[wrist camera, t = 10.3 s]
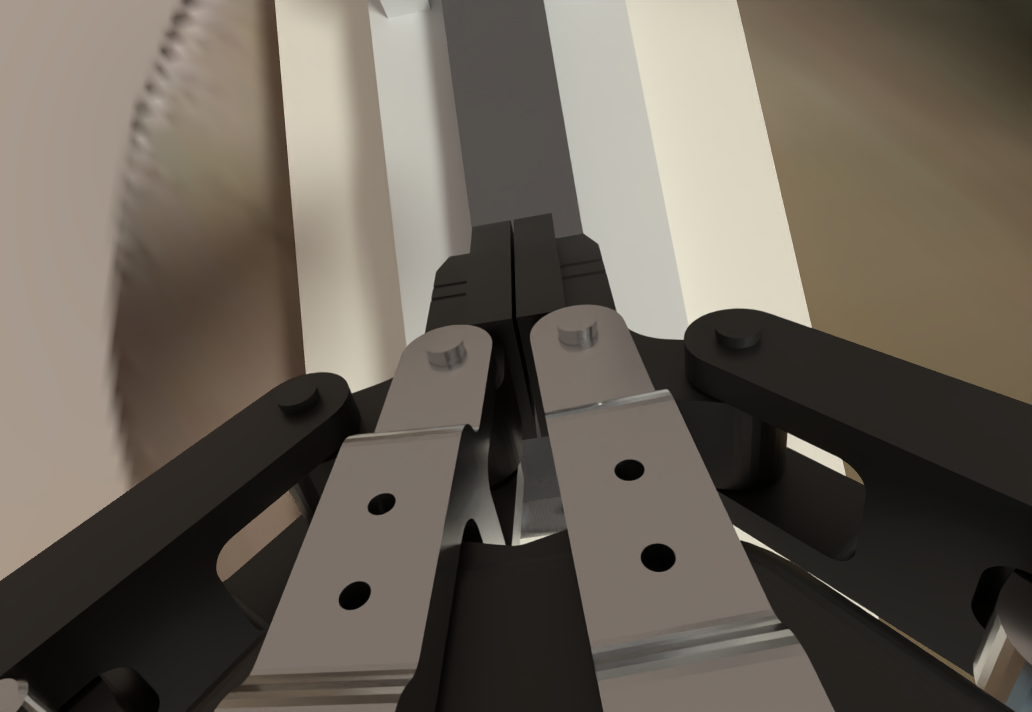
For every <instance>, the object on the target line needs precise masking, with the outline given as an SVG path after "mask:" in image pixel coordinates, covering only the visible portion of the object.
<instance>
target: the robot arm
mask: <svg viewBox="0 0 1032 712" xmlns="http://www.w3.org/2000/svg"><path fill="white" fill-rule="evenodd" d="M433 287H434V289H433V291H432V296H431V301H432V302H430V307H429V313H428V318H427V324H426V330H425V334H423V335H421V336H419V337H417V338H416V339H415V340H413V341H412V342H411V343H410V344H409V345H408V346H407V347H406V348H405V349H404V351H403V352H402V354H401V357H400V360H399V363H398V365H397V368H396V371H395V374H394V377H393V378H391V379H389V380H386V381H384V382H381V383H379V384H376V385H374V386H371V387H368V388H365V389H362V390H360V391H357V392H354V393H351V390H350V388H349V385H348V383H347V381H346V380H345V379H344V378H343V377H341V376H340V375H338V374H334V373H329V372H316V373H309V374H305V375H301V376H298V377H295V378H292V379H290V380H288V381H286V382H284V383H282V384H280V385H278V386H277V387H275V388H273V389H272V390H271V391H269V392H268V393H266V394H265V395H263V396H262V397H261V398H259V399H258V400H256V401H255V402H253V403H252V404H251V405H249V406H248V407H246V408H245V409H244V410H242V411H241V412H239V413H238V414H236V415H235V416H234V417H232V418H231V419H229V420H228V421H227V422H225V423H224V424H222V425H221V426H219V427H218V428H217V429H215V430H214V431H212V432H211V433H210V434H208V435H207V436H205V437H204V438H202V439H201V440H200V441H198V442H197V443H195V444H194V445H193V446H191V447H190V448H188V449H187V450H185V451H184V452H183V453H181V454H180V455H178V456H177V457H176V458H174V459H173V460H171V461H170V462H168V463H167V464H166V465H164V466H163V467H161V468H160V469H159V470H157V471H156V472H154V473H153V474H151V475H150V476H149V477H147V478H146V479H144V480H143V481H141V482H140V483H139V484H137V485H136V486H134V487H133V488H132V489H130V490H129V491H127V492H126V493H124V494H123V495H122V496H120V497H119V498H117V499H116V500H115V501H113V502H112V503H110V504H109V505H107V506H106V507H105V508H103V509H102V510H101V511H99V512H98V513H96V514H95V515H93V516H92V517H91V518H89V519H88V520H86V521H85V522H83V523H82V524H81V525H79V526H78V527H76V528H75V529H73V530H72V531H71V532H69V533H68V534H66V535H65V536H64V537H62V538H61V539H59V540H58V541H57V542H55V543H54V544H52V545H51V546H49V547H48V548H47V549H45V550H44V551H42V552H41V553H39V554H38V555H37V556H35V557H34V558H32V559H31V560H29V561H28V562H27V563H25V564H24V565H22V566H21V567H20V568H18V569H17V570H15V571H14V572H13V573H11V574H10V575H8V576H7V577H5V578H4V579H3V580H1V581H0V712H1032V405H1030V404H1027V403H1024V402H1022V401H1019V400H1016V399H1013V398H1010V397H1007V396H1004V395H1002V394H999V393H996V392H993V391H990V390H987V389H984V388H982V387H979V386H976V385H973V384H970V383H967V382H964V381H962V380H959V379H956V378H953V377H950V376H947V375H944V374H942V373H939V372H936V371H933V370H930V369H927V368H924V367H922V366H919V365H916V364H913V363H910V362H907V361H904V360H902V359H899V358H896V357H893V356H890V355H887V354H884V353H882V352H879V351H876V350H873V349H870V348H867V347H864V346H862V345H859V344H856V343H853V342H850V341H847V340H844V339H842V338H839V337H836V336H833V335H830V334H827V333H824V332H822V331H819V330H816V329H813V328H810V327H807V326H804V325H802V324H799V323H796V322H793V321H790V320H787V319H784V318H782V317H779V316H776V315H773V314H770V313H767V312H763V311H759V310H754V309H744V308H734V309H724V310H719V311H715V312H711V313H708V314H706V315H703V316H701V317H699V318H698V319H696V320H695V321H693V322H692V323H691V324H690V325H689V326H688V328H687V329H686V331H685V333H684V340H677V339H660V338H653V337H648V336H644V335H641V334H638V333H636V332H633V331H632V330H630V329H628V327H627V325H626V323H625V320H624V319H623V317H622V316H621V315H620V314H619V313H617V311H616V307H615V303H614V299H613V296H612V292H611V288H610V285H609V281H608V277H607V274H606V270H605V266H604V263H603V260H602V255H601V251H600V248H599V244H598V243H596V242H595V241H594V240H592V239H591V238H589V237H588V236H586V235H585V234H579V235H573V236H567V237H561V238H556V237H555V230H554V224H553V218H552V213H548V214H542V215H537V216H531V217H525V218H519V219H514V230H513V226H512V222H511V220H509V221H503V222H497V223H491V224H485V225H480V226H474V227H472V235H471V245H470V253H468V254H462V255H456V256H450V257H448V259H447V260H446V261H445V262H444V263H443V264H442V265H441V266H440V268H439V269H438V270H437V271H436V274H435V280H434V285H433ZM536 414H537V418H538V423H539V428H540V433H541V437H547V436H549V438H550V443H551V448H552V453H553V458H554V463H555V468H556V473H557V478H558V483H559V488H560V493H561V499H562V504H563V509H564V514H565V519H566V524H567V529H566V530H563V531H560V532H557V533H555V534H552V535H549V536H546V537H543V538H540V539H537V540H535V541H532V542H529V543H526V544H522V545H520V535H521V520H522V505H523V490H524V472H523V468H522V464H521V459H522V440H527V439H534V438H537V424H536ZM788 433H789V434H791V435H793V436H795V437H797V438H799V439H801V440H803V441H805V442H807V443H809V444H811V445H814V446H816V447H818V448H820V449H822V450H824V451H826V452H828V453H830V454H832V455H834V456H836V457H838V458H840V459H842V460H844V461H845V462H846V463H848V464H849V465H850V466H851V467H852V468H853V469H854V470H855V471H856V472H857V473H858V474H859V476H860V477H861V479H862V481H863V483H864V485H863V484H861V483H859V482H857V481H855V480H853V479H851V478H849V477H847V476H845V475H843V474H841V473H839V472H837V471H835V470H833V469H831V468H829V467H827V466H825V465H823V464H821V463H819V462H817V461H815V460H813V459H811V458H809V457H807V456H805V455H803V454H801V453H799V452H797V451H795V450H793V449H791V448H789V447H787V434H788ZM288 490H289V491H290V493H291V495H292V497H293V499H294V501H295V502H296V504H297V506H298V508H299V510H300V512H301V514H302V515H301V516H300V517H299V518H297V519H296V520H295V521H294V522H293V523H292V524H290V525H289V526H288V527H287V528H286V529H285V530H284V531H282V532H281V533H280V534H279V535H278V536H277V537H276V538H274V539H273V540H272V541H271V542H270V543H269V544H268V545H266V546H265V547H264V548H263V549H262V550H261V551H260V552H258V553H257V554H256V555H255V556H254V557H253V558H251V559H250V560H249V561H248V562H247V563H246V564H245V565H243V566H242V567H241V568H240V569H239V570H238V571H237V572H235V573H234V574H233V575H232V576H231V577H230V578H228V579H227V580H225V581H224V582H222V581H221V580H220V578H219V577H218V575H217V571H216V563H217V559H218V555H219V553H220V551H221V550H222V548H223V546H224V545H225V544H226V543H227V541H228V540H230V539H231V538H232V537H233V536H234V535H235V534H236V533H238V532H239V531H240V530H241V529H242V528H244V527H245V526H246V525H247V524H248V523H250V522H251V521H252V520H253V519H254V518H256V517H257V516H258V515H259V514H260V513H262V512H263V511H264V510H265V509H267V508H268V507H269V506H270V505H271V504H273V503H274V502H275V501H276V500H277V499H279V498H280V497H281V496H282V495H283V494H285V493H286V492H287V491H288ZM733 525H734V526H736V527H737V528H739V529H740V530H742V531H744V532H745V533H747V534H748V535H750V536H751V537H753V538H755V539H756V540H758V541H759V542H761V543H763V544H764V545H766V546H767V547H769V548H770V549H772V550H774V551H775V552H777V553H778V554H780V555H782V556H783V557H785V558H786V559H785V558H783V557H781V556H779V555H777V554H775V553H773V552H772V551H769V550H767V549H764V548H762V547H759V546H757V545H754V544H752V543H749V542H745V541H742V540H739V537H738V535H737V533H736V531H735V529H734V527H733ZM787 559H788V560H787ZM789 560H790V561H789ZM808 572H809V573H808ZM811 574H812V575H811ZM814 576H815V577H814ZM816 577H817V578H818V579H817V578H816ZM819 579H820V580H821V581H820V580H819ZM822 581H823V582H824V583H823V582H822ZM825 583H826V584H828V585H829V586H831V587H832V588H834V589H836V590H837V591H839V592H840V593H842V594H843V595H845V596H847V597H848V598H850V599H851V600H853V601H855V602H856V603H858V604H859V605H861V606H863V607H864V608H866V609H867V610H869V611H870V612H872V613H874V614H875V615H877V616H878V617H880V618H882V619H883V620H885V621H886V622H888V623H889V624H891V625H893V626H894V627H896V628H897V629H899V630H901V631H902V632H904V633H905V634H907V635H909V636H910V637H912V638H913V639H915V640H916V641H918V642H920V643H921V644H923V645H924V646H926V647H928V648H929V649H931V650H932V651H934V652H936V653H937V654H939V655H940V656H942V657H943V658H945V659H947V660H948V661H950V662H951V663H953V664H955V665H956V666H958V667H959V668H961V669H962V670H964V671H966V672H967V673H969V674H970V675H972V676H974V677H975V681H976V685H975V684H974V683H972V682H971V681H969V680H968V679H966V678H965V677H963V676H962V675H960V674H959V673H957V672H956V671H954V670H953V669H951V668H950V667H948V666H947V665H945V664H944V663H942V662H941V661H939V660H938V659H936V658H935V657H933V656H932V655H930V654H929V653H927V652H926V651H924V650H923V649H921V648H920V647H919V646H917V645H916V644H914V643H913V642H911V641H910V640H908V639H907V638H905V637H904V636H902V635H901V634H899V633H898V632H896V631H895V630H893V629H892V628H890V627H889V626H887V625H886V624H884V623H883V622H881V621H880V620H878V619H877V618H875V617H874V616H872V615H871V614H869V613H868V612H866V611H865V610H863V609H862V608H860V607H859V606H857V605H856V604H854V603H853V602H851V601H850V600H849V599H847V598H846V597H844V596H843V595H841V594H840V593H838V592H837V591H835V590H834V589H832V588H831V587H829V586H828V585H826V584H825Z"/></svg>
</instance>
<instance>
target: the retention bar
mask: <svg viewBox="0 0 1032 712" xmlns="http://www.w3.org/2000/svg"><path fill="white" fill-rule="evenodd" d="M441 2H442V9H443V17H444V24H445V32H446V39H447V47H448V54H449V62H450V69H451V77H452V84H453V92H454V99H455V107H456V114H457V122H458V129H459V137H460V144H461V151H462V159H463V166H464V174H465V181H466V189H467V196H468V204H469V211H470V219H471V226H472V227H474V226H480V225H485V224H491V223H497V222H503V221H509V220H511V222H512V226H513V230H514V219H519V218H525V217H531V216H537V215H542V214H548V213H552V218H553V224H554V230H555V237H556V238H561V237H567V236H573V235H579V234H583V229H582V223H581V217H580V211H579V206H578V200H577V194H576V188H575V182H574V176H573V170H572V164H571V158H570V152H569V147H568V141H567V135H566V129H565V123H564V117H563V111H562V105H561V99H560V94H559V88H558V82H557V76H556V70H555V64H554V58H553V52H552V46H551V40H550V35H549V29H548V23H547V17H546V11H545V5H544V0H441ZM536 424H537V438H534V439H527V440H522V459H521V464H522V468H523V472H524V490H523V505H522V520H521V535H520V539H524V538H531V537H539V536H546V535H552V534H555V533H557V532H560V531H563V530H566V529H567V524H566V519H565V514H564V509H563V504H562V499H561V493H560V488H559V483H558V478H557V473H556V468H555V463H554V458H553V453H552V448H551V443H550V438H549V436H547V437H541V433H540V428H539V423H538V418H537V414H536Z"/></svg>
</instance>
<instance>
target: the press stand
mask: <svg viewBox="0 0 1032 712" xmlns="http://www.w3.org/2000/svg"><path fill="white" fill-rule="evenodd" d="M544 5H545V11H546V17H547V23H548V29H549V35H550V40H551V46H552V52H553V58H554V64H555V70H556V76H557V82H558V88H559V94H560V99H561V105H562V111H563V117H564V123H565V129H566V135H567V141H568V147H569V152H570V158H571V164H572V170H573V176H574V182H575V188H576V194H577V200H578V206H579V211H580V217H581V223H582V229H583V234H585V235H586V236H588V237H589V238H591V239H592V240H594V241H595V242H596V243H598V244H599V248H600V251H601V255H602V260H603V263H604V266H605V270H606V274H607V277H608V281H609V285H610V288H611V292H612V296H613V299H614V303H615V307H616V311H617V313H619V314H620V315H621V316H622V317H623V319H624V320H625V323H626V325H627V327H628V329H630V330H632V331H633V332H636V333H638V334H641V335H644V336H648V337H653V338H660V339H677V340H684V333H685V331H686V329H687V328H688V326H689V325H690V324H691V323H692V322H693V321H695V320H696V319H698V318H699V317H701V316H703V315H706V314H708V313H711V312H715V311H719V310H724V309H734V308H744V309H754V310H759V311H763V312H767V313H770V314H773V315H776V316H779V317H782V318H784V319H787V320H790V321H793V322H796V323H799V324H802V325H804V326H807V327H810V328H812V327H811V322H810V318H809V314H808V309H807V305H806V301H805V296H804V292H803V288H802V283H801V279H800V275H799V270H798V266H797V261H796V257H795V253H794V248H793V244H792V240H791V235H790V231H789V227H788V222H787V218H786V214H785V209H784V205H783V201H782V196H781V192H780V188H779V183H778V179H777V174H776V170H775V166H774V161H773V157H772V153H771V148H770V144H769V140H768V135H767V131H766V127H765V122H764V118H763V114H762V109H761V105H760V101H759V96H758V92H757V87H756V83H755V79H754V74H753V70H752V66H751V61H750V57H749V53H748V48H747V44H746V40H745V35H744V31H743V27H742V22H741V18H740V14H739V9H738V5H737V0H544ZM275 8H276V20H277V32H278V44H279V56H280V68H281V80H282V92H283V104H284V116H285V128H286V140H287V152H288V164H289V176H290V188H291V200H292V212H293V224H294V236H295V248H296V260H297V272H298V284H299V296H300V308H301V320H302V331H303V343H304V355H305V367H306V374H309V373H316V372H329V373H334V374H338V375H340V376H341V377H343V378H344V379H345V380H346V381H347V383H348V385H349V388H350V390H351V393H354V392H357V391H360V390H362V389H365V388H368V387H371V386H374V385H376V384H379V383H381V382H384V381H386V380H389V379H391V378H393V377H394V374H395V371H396V368H397V365H398V363H399V360H400V357H401V354H402V352H403V351H404V349H405V348H406V347H407V346H408V345H409V344H410V343H411V342H412V341H413V340H415V339H416V338H417V337H419V336H421V335H423V334H425V330H426V324H427V318H428V313H429V307H430V302H432V301H431V296H432V291H433V289H434V287H433V285H434V280H435V274H436V271H437V270H438V269H439V268H440V266H441V265H442V264H443V263H444V262H445V261H446V260H447V259H448V257H450V256H456V255H462V254H468V253H470V245H471V235H472V226H471V219H470V211H469V204H468V196H467V189H466V181H465V174H464V166H463V159H462V151H461V144H460V137H459V129H458V122H457V114H456V107H455V99H454V92H453V84H452V77H451V69H450V62H449V54H448V47H447V39H446V32H445V24H444V17H443V9H442V2H441V0H275ZM787 447H789V448H791V449H793V450H795V451H797V452H799V453H801V454H803V455H805V456H807V457H809V458H811V459H813V460H815V461H817V462H819V463H821V464H823V465H825V466H827V467H829V468H831V469H833V470H835V471H837V472H839V473H841V474H843V475H845V470H844V466H843V462H842V459H840V458H838V457H836V456H834V455H832V454H830V453H828V452H826V451H824V450H822V449H820V448H818V447H816V446H814V445H811V444H809V443H807V442H805V441H803V440H801V439H799V438H797V437H795V436H793V435H791V434H789V433H788V434H787ZM845 476H846V475H845ZM733 527H734V529H735V531H736V533H737V535H738V537H739V540H742V541H745V542H749V543H752V544H754V545H757V546H759V547H762V548H764V549H767V550H769V551H772V552H773V553H775V554H777V555H779V556H781V557H783V556H782V555H780V554H778V553H777V552H775V551H774V550H772V549H770V548H769V547H767V546H766V545H764V544H763V543H761V542H759V541H758V540H756V539H755V538H753V537H751V536H750V535H748V534H747V533H745V532H744V531H742V530H740V529H739V528H737V527H736V526H734V525H733ZM546 536H549V535H546ZM546 536H539V537H531V538H524V539H520V545H522V544H526V543H529V542H532V541H535V540H537V539H540V538H543V537H546ZM783 558H785V557H783ZM785 559H786V558H785ZM787 560H788V559H787ZM789 561H790V560H789ZM808 573H809V572H808ZM811 575H812V574H811ZM814 577H815V576H814ZM816 578H817V577H816ZM817 579H818V578H817ZM819 580H820V579H819ZM820 581H821V580H820ZM822 582H823V581H822ZM823 583H824V582H823ZM825 584H826V583H825ZM826 585H828V584H826ZM828 586H829V585H828ZM829 587H831V586H829ZM831 588H832V587H831ZM832 589H834V588H832ZM834 590H835V591H837V590H836V589H834ZM837 592H838V593H840V592H839V591H837ZM840 594H841V595H843V594H842V593H840ZM843 596H844V597H846V598H847V599H849V600H850V601H851V602H853V603H854V604H856V605H857V606H859V607H860V608H862V609H863V610H865V611H866V612H868V613H869V614H871V615H872V616H874V617H875V618H877V619H878V620H879V618H878V616H877V615H875V614H874V613H872V612H870V611H869V610H867V609H866V608H864V607H863V606H861V605H859V604H858V603H856V602H855V601H853V600H851V599H850V598H848V597H847V596H845V595H843Z"/></svg>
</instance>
